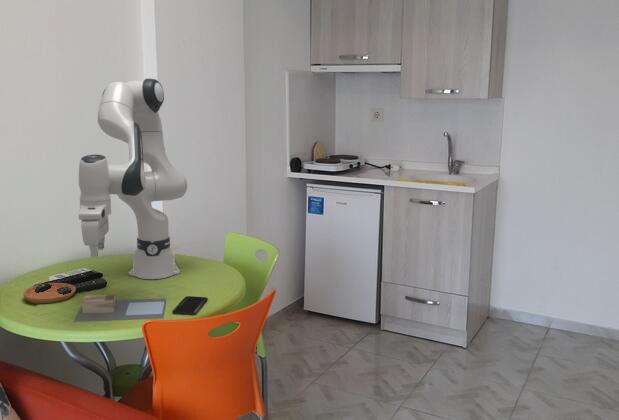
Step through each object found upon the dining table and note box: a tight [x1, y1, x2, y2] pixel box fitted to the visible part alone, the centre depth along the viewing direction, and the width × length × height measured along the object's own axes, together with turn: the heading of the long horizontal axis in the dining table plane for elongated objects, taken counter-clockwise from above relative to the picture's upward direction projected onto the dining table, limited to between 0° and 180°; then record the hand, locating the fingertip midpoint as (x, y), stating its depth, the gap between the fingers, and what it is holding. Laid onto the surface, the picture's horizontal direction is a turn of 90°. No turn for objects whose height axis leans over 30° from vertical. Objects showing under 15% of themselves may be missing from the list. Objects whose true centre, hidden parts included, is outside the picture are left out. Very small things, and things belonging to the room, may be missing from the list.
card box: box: [81, 293, 116, 314], centre depth 191 cm, size 5×9×4 cm, turn 100°
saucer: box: [22, 282, 76, 305], centre depth 203 cm, size 16×16×3 cm
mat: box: [73, 297, 167, 323], centre depth 193 cm, size 18×26×1 cm
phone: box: [171, 295, 209, 317], centre depth 198 cm, size 8×1×15 cm
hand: (97, 253), depth 188 cm, fingers open, 8 cm apart
